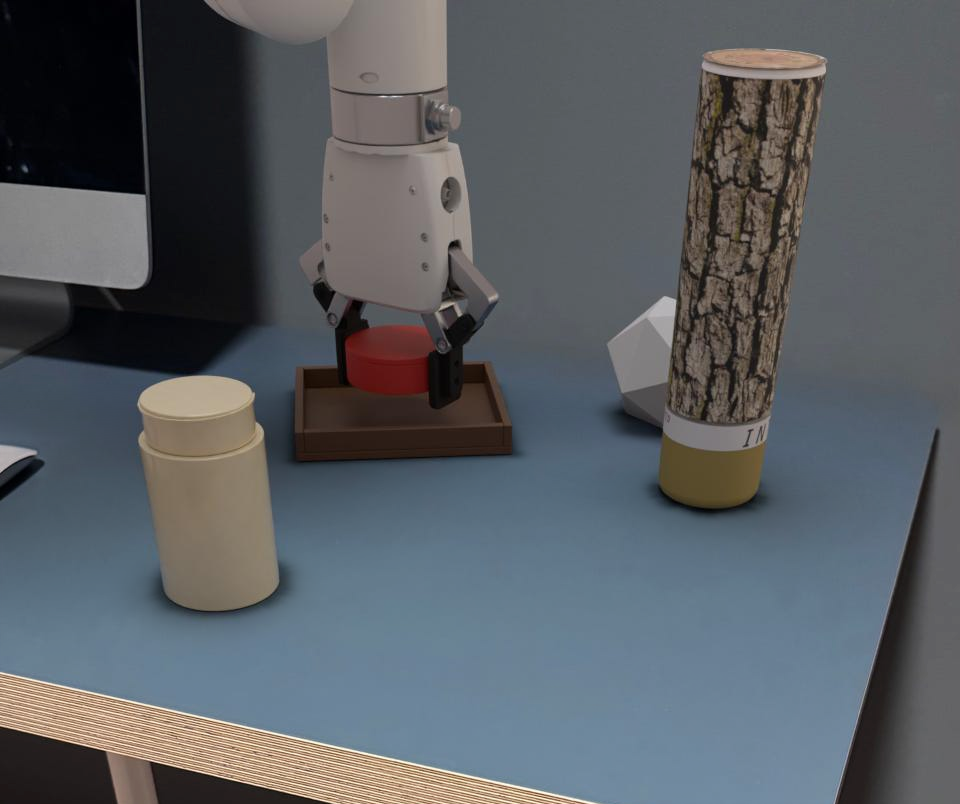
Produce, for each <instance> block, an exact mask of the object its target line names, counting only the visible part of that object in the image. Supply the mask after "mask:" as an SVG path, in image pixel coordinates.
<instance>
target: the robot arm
mask: <svg viewBox="0 0 960 804" xmlns="http://www.w3.org/2000/svg"><path fill="white" fill-rule="evenodd" d="M203 1H204V3H206V4H207V5H208V6H209V7H210V8H211V9H212V10H213V11H215V12H216V13H217V14H218V15H220V16H221V17H223V18H224V19H226V20H228V21H230V22H231V23H234V24H236V25H238V26H239V27H243V28H245V29H246V30H250V31H252V32H255V33H258V34H260V35H262V36H264V37H266V38H268V39H270V40H272V41H275V42H278V43H281V44H286V45H291V46H292V45H293V46H296V45H297V46H301V45H306V44H311V43H315V42H318V41H320V40H322V39H324V38H325V39H326V53H327V68H328V70H327V71H328V84H329V100H330V117H331V132H332V133H331V134H332V135H331V137H329V138H328V139H327V140H326V146H325V153H324V163H323V172H322V192H321V193H322V194H321V234H322V235H321V238H319V239H318V240H317V241H316V242H315V243H314V244H313V245H312V246H311V247H310V248H308V249H307V250H306V251H305V252H304V253H303V254H302V255H301V256H300V257H299V259H298V264H299V266H300V268H301V270H302V272H303V274H304V276H305V278H306V280H307V282H308V283H309V284H310V286H311V287H312V292H313V293H312V294H313V296H314V298H315V299H316V301H317V302H318V303H319V305H320V307H321V308H322V310H323V311H324V312H325V314H326V315H325V321H326V323H327V325H328V326H329V327H330V328H332V329H334V337H335V338H334V340H335V353H336V355H335V356H336V365H337V367H338V381H339V383H340V384H342V385H345V386H347V385H350V384H351V383H350V382H349V381H348V378H347V366H346V349H345V341H346V339H347V338H348V337H349V336H350V335H352V334H354V333H356V332H358V331H361V330H364V329H367V328H370V325H369V320H368V319H366V318H362V316H363V313H364V311H365V308H366V306H367V304H373V305H377V306H382V307H386V308H390V309H394V310H398V311H403V312H408V313H414V314H419V315H420V316H421V319H422V321H423V323H424V327H426V328H427V330H428V332H429V335H430V337H431V339H432V341H433V344H434V346H435V348H436V350H434V351H432V352H430V353H429V355H428V381H429V405H430V406H431V408H433V409H437V410H439V409H441V408H443V407H445V406H447V405H449V404H451V403H453V402H454V401H456V400H458V399H459V398H460V397H461V391H462V388H463V362H464V345H466V344H468V343H470V342H471V339H472V337H473V336H475V334H476V333H477V332H478V331H479V330H480V329H482V327H483V326H484V324H485V320H487V319H488V317H489V315H490V314H491V313H492V312H493V310H494V309H495V307H496V305H498V303H499V299H500V296H499V293H498V292H497V290H496V289H495V288H494V287H493V285H492V284H491V283H490V282H489V281H488V279H487V278H485V276H484V275H483V273H481V272H480V270H479V269H478V268H477V267H476V266H475V265H474V253H473V235H472V234H473V233H472V222H471V210H470V200H469V193H468V192H469V191H468V186H467V180H466V174H465V168H464V163H463V158H462V155H461V150H460V146H459V144H458V143H455V142H450V141H449V136H450V135H449V134H450V133H449V132H450V131H453V132H455V131H457V130H459V128H460V126H461V122H462V112H461V110H460V108H459V107H458V106H456V105H455V106H454V105H451V104H450V103H449V90H448V34H447V33H448V32H447V31H448V28H447V27H448V24H447V23H448V21H447V20H448V19H447V16H448V15H447V13H448V12H447V7H448V6H447V0H203ZM466 299H467V301H468V302H467V306H466V308H465V310H464V311H463V312H462V310H461V308H460V305H459V303H458V301H464V300H466ZM442 316H443V317H442ZM444 321H445V322H444ZM445 323H446V324H445ZM446 325H447V326H446Z"/></svg>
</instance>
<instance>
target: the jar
mask: <svg viewBox="0 0 960 804" xmlns="http://www.w3.org/2000/svg"><path fill="white" fill-rule="evenodd" d="M255 400H256V392H253V391H252V388H250V386H249V385H248V384H247V383H244V382H243V381H240V380H238V379H234V378H230V377H225V376H218V375H189V376H181V377H175V378H171V379H166V380H163V381H160V382H157V383H155V384H153V385H150V386H149V387H147V388H145V389H144V390H143V391H142V392H141V393H140V396H139V398H138V401H137V405H136V406H137V409H138V411H139V412H140V415H141V420H142V427H143V430H142V431H141V433H140V434H139V436H138V441H137V442H138V448H139V453H140V459H141V465H142V466H141V467H142V471H143V477H144V482H145V483H144V484H145V486H146V487H145V489H146V493H147V500H148V506H149V511H150V512H149V513H150V516H151V523H152V530H153V535H154V540H155V546H156V552H157V558H158V564H159V570H160V574H161V582H162V587H163V592H164V593H165V595H166V597H167V598H168V599H169V600H171V601H172V603H175V604H177V605H178V606H181V607H184V608H186V609H191V610H195V611H204V612H223V611H225V612H226V611H233V610H238V609H243V608H246V607H249V606H252V605H256V604H258V603H260V602H263V601H264V600H265V599H266V598H268V597H270V596H271V595H273V594H274V592H275V591H276V589H278V586H279V584H280V580H281V579H280V571H279V561H278V552H277V542H276V532H275V524H274V522H275V521H274V514H273V505H272V494H271V486H270V478H269V476H270V475H269V466H268V457H267V447H266V437H265V430H264V428H263V426H261V424H260V423H258V421H256V413H255V405H254V402H255Z"/></svg>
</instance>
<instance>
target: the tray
mask: <svg viewBox="0 0 960 804" xmlns="http://www.w3.org/2000/svg"><path fill="white" fill-rule="evenodd" d="M294 380H295V381H294V383H295V385H294V386H295V387H294V388H295V389H294V400H295V401H294V438H295V439H294V440H295V451H296V461H297V462H313V461H314V462H315V461H316V462H319V461H321V462H322V461H344V460H345V461H348V460H373V459H374V460H375V459H377V460H378V459H402V458H403V459H404V458H429V457H432V458H433V457H458V456H459V457H460V456H461V457H462V456H487V455H511V454H513V453H512V449H513V447H512V445H513V424H512V421H511V418H510V415H509V412H508V408H507V405H506V402H505V399H504V396H503V393H502V390H501V388H500V385H499V382H498V379H497V376H496V372H495V370H494V366H493V363H492V361H491V360H478V361H477V360H475V361H474V360H473V361H472V360H471V361H463V388H462V391H461V397H460V398H459V399H458V400H456V401H454V402H453V403H451V404H449V405H447V406H445V407H443V408H441V409H439V410H437V409H433V408H431V406H430V405H429V392H425V393H419V394H411V395H383V394H376V393H371V392H367V391H364V390H361V389H358V388H356V387H354V386H353V385H352V384H350V385H347V386H345V385H342V384H340V383H339V381H338V367H337V364H335V365H304V366H303V365H302V366H301V365H300V366H295V379H294Z"/></svg>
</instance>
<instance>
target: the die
mask: <svg viewBox="0 0 960 804" xmlns="http://www.w3.org/2000/svg"><path fill="white" fill-rule="evenodd" d="M676 300H677V299H675V298H672V297H669V296H666V295H664V296H663V297H661V298H660V299H659V300H658V301H657V302H655V303H654V304H653V305H651V306H650V308H647V310H646V311H644V312H643V313H641V314H640V315H639V316H638V317H637V318H636V319H635V320H634V321H632V322H631V323H630V324H629V325H627V326H626V327H625V328H624V329H622V331H620V332H619V333H618V334H617V335H615V336H614V337H613V338H612V339H611V340H609V341H608V342H607V343H606V345H607V350H608V353H609V356H610V361H611V364H612V368H613V372H614V375H615V378H616V382H617V385H618V389H619V393H620V398H621V401H622V404H623V408H624V411H625V414H626V415H630V416H632V417H635V418H636V419H638V420H642V421H644V422H646V423H648V424H651V425H653V426H656V427H658V428H660V429H663V423H664V413H665V404H666V395H667V385H668V376H669V366H670V357H671V347H672V338H673V329H674V319H675V310H676Z"/></svg>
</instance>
